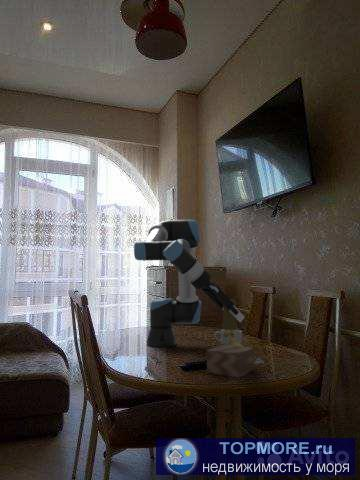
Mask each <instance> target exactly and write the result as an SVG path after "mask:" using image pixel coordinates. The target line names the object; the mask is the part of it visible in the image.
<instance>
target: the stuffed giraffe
mask: <svg viewBox="0 0 360 480" xmlns="http://www.w3.org/2000/svg"><path fill="white" fill-rule="evenodd" d="M224 335H225V337H227V336H229V335H231V339H230V343H229V345H233V346H242V347H245V346H244V345H243V344H242V343H241V344H239V343H237V342H236V330H225V331H224ZM262 363H263V364H264V363H265V362H264V360H262V359H261V358H260V357H258V358H256V359H255V361H254V365H255V364H262Z"/></svg>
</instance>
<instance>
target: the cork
mask: <svg viewBox="0 0 360 480" xmlns="http://www.w3.org/2000/svg"><path fill="white" fill-rule="evenodd" d="M229 299H230V300H231V301H232V302H233V303H234V306H235V307H236V308H237V301H236V300H235V299H234V298H233V299H232V298H229ZM223 307H224V311H223V316H222V323H221V330H222V329H225V330H236V329H237V330H239V327H238V326H239V325H238V320H237V319H236V318H235V317H234V316H233V315H232V314H231V313H230V312H229V311H227V308H226V307H225V306H224V305H223Z"/></svg>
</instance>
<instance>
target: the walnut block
mask: <svg viewBox="0 0 360 480" xmlns="http://www.w3.org/2000/svg"><path fill="white" fill-rule="evenodd" d="M254 362H255V349H254V347H249V346H244V347H242V346H233V345H224V344H221V345H217V346H214V347H212V348H208V349H206V372H207V373H209V374H215V375H222V376H225V377H234V378H241V377H244V376H245V375H247V374H249V373H251V372H253V371H254V370H255V364H254Z"/></svg>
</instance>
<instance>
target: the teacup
mask: <svg viewBox="0 0 360 480" xmlns="http://www.w3.org/2000/svg"><path fill="white" fill-rule="evenodd" d="M224 331H225V329H222V328H221V330H220V331H218V330H217V331H215V332H214V333H213V336H214V339H215V340H216V341H218V342H219V343H220V344H221V345H223V344H224V345H229V343H230V339H231V335H229V336H227V337H225V335H224ZM217 334H219V336H220V338H218V337H217ZM242 341H243V331H242V330H240V329H236V342H237V343H239V344H241V345H242Z"/></svg>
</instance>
